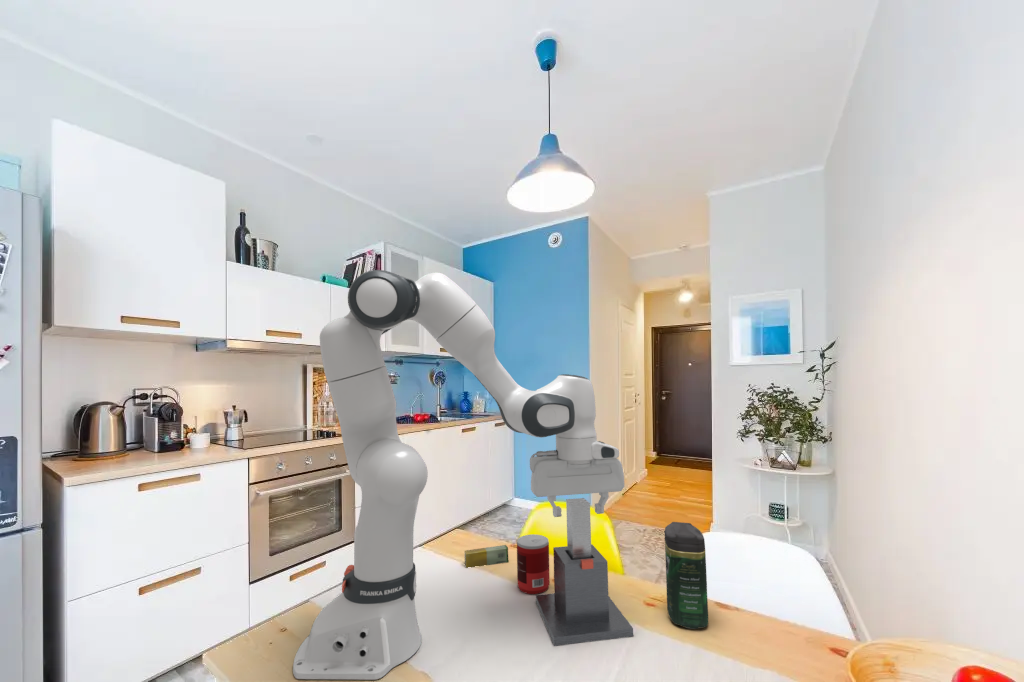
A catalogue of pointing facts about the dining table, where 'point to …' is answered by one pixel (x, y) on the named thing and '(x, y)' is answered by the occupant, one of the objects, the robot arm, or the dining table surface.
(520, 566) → the canned food
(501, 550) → the medication box
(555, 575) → the stand housing
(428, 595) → the dining table surface
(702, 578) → the coffee jar
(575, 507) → the column
